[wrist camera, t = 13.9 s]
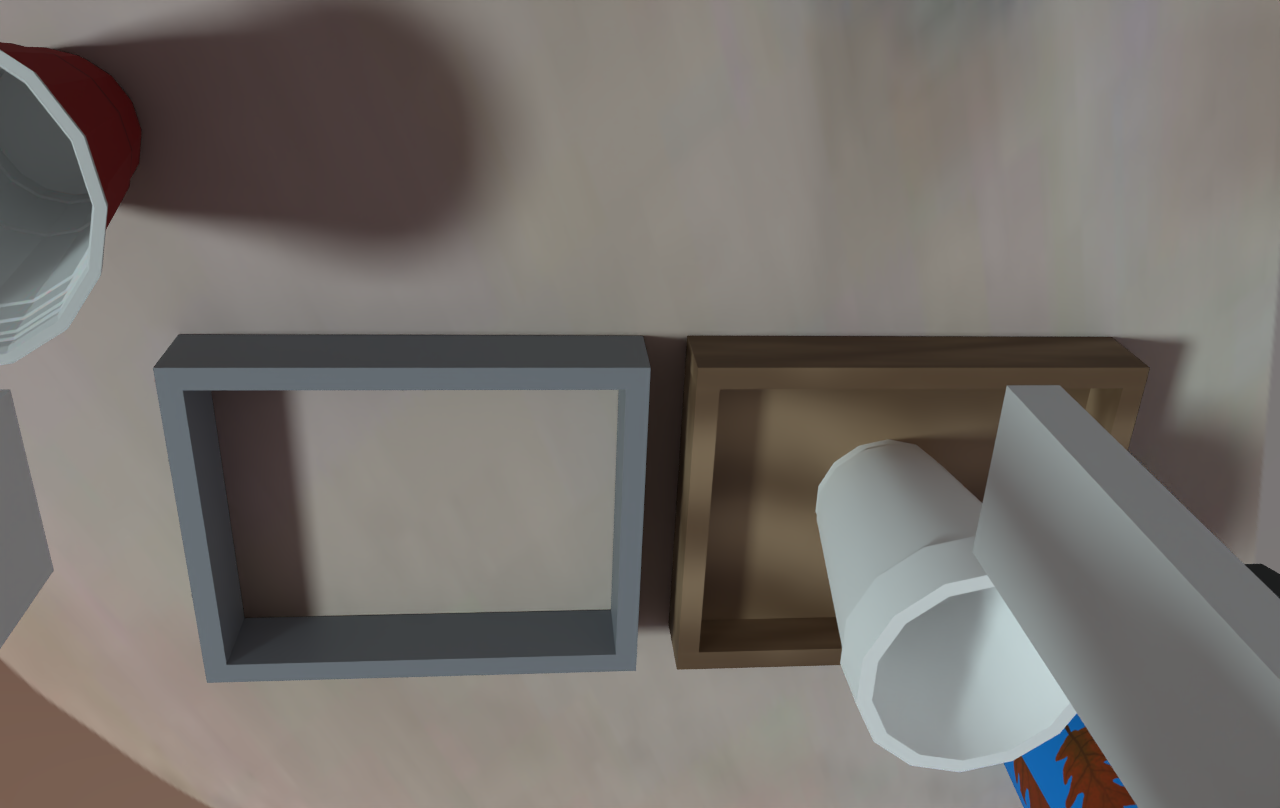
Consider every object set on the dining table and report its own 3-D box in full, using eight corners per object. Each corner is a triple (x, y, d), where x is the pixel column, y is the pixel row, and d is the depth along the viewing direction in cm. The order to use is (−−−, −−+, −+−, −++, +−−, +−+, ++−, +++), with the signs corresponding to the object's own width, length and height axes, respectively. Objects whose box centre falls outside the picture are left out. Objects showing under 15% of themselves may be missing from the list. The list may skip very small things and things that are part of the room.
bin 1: (178, 334, 46) (152, 367, 43) (642, 335, 48) (650, 367, 45) (225, 635, 53) (207, 682, 50) (629, 625, 55) (635, 670, 52)
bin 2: (687, 336, 48) (697, 367, 45) (1111, 337, 50) (1149, 367, 47) (668, 624, 55) (676, 669, 52) (1042, 615, 57) (1071, 658, 54)
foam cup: (996, 534, 54) (1125, 717, 42) (823, 605, 55) (902, 803, 43) (942, 378, 49) (1068, 533, 38) (755, 458, 50) (823, 633, 39)
